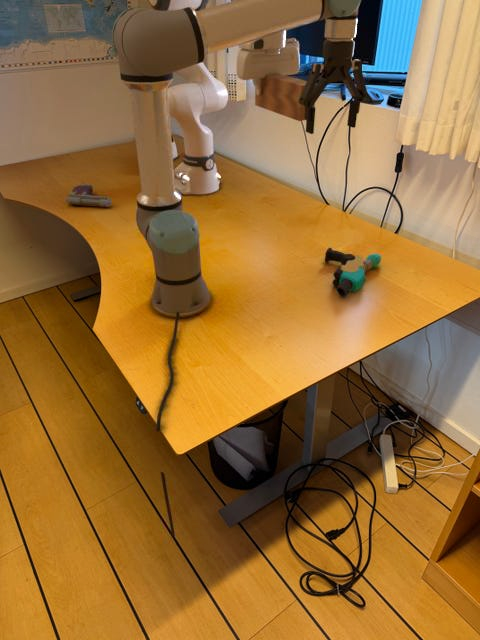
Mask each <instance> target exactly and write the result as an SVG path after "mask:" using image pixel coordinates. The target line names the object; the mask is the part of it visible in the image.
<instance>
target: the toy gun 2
mask: <svg viewBox="0 0 480 640" xmlns="http://www.w3.org/2000/svg"><path fill="white" fill-rule="evenodd" d="M330 261H332V262H337V263H340V267H339V268H337V269H336V270H335V272H334V273H333V277H334V279H333V280H332V285H333V286H334V287H336V292H337V294H338V295H339V297H341V298H344V299H345V298H346V297H347V295H348V294H350V293H351V291H353V292H357V291H359V290H360V289H361V288H362V287H363V286H364V284H365V282H366V274H365V273H366V272H367V271H369V270H370V269H372V268H377V266H379V265H380V263H381V261H382V255H381V254H379V253H370V254H368V256H366V259H364V257H363V256H361V255H359V254H353V253H352V254H351V253H344V252H342V251H338V250H335V249H333V248H332V247H328V248H327V249H326V251H325V255H324V262H325V263H329V262H330Z"/></svg>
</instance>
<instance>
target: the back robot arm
mask: <svg viewBox="0 0 480 640" xmlns="http://www.w3.org/2000/svg"><path fill="white" fill-rule="evenodd" d="M147 1H148V3H149V5H150V6H151V8H152V10H159V11H173V10H179V9H183V8H187V7H191V8H193V9H194V10H195V11H200V10H203V9H206V6H207V5H208V3H209V1H210V0H147ZM231 1H235V0H230V2H231ZM286 37H287V30H286V31H282V32H279V33H276V34H273V35H270V36H266V37H263V38H260V39H257V40H253V41H250V42H247V43H244V44H240V45H238V48H239V51H238V52H237V56H236V76H237V77H238V79H239V80H241V81H249V80H252V84H253V85H254V89H255V88H256V95H263V88H261V87H260V85H259V82H260V80H261V78H265V76H267V75H275V74H281V75H285V76H290V75H291V76H292V75H297V74H298V73H299V71H300V68H301V66H300V61H301V60H300V43H299V40H298V39H296V38H295V37H292V38H286ZM174 73H175V74H177V75H178V76H180V77H182V78H184V79H185V80H186V83H179V84H176V85H173V86H170V87H168V88H167V90H168V102H169V115H170V118H172V119H173V120H174V121H175V122H176V123H177V125H178V126H179V128H180V130H181V133H182V137H183V145H184V146H183V147H184V152H183V153H181V157H182V162H181V163H180V164H178V165H177V166H176V167H174V179H175V189H176V190H177V191H178V192H180V193H181V195H185V196H187V195H207V194H212V193H215V192H217V191H218V190H219V189H220V184H221V182H220V179H221V175H220V174H219V173H218V170H217V163H216V152H215V150H214V134H213V131H212V130H211V128H209V127H208V126H206V125H205V124H202V123H201V119H200V116H203V115H206V114H207V115H208V114H213V113H216V112H218V111H221V110H223V109H224V108H226V106H227V104H228V100H229V92H228V89H227V87H226V85H225V84H224V83H223V82H222V81H220V80H219V79H217V78H216V77H215V76H213V74H212V73H211V72H210V71H209V70H208V68H207V67H206V65H205V64H204V62H202V63H198V64H195V65H192V66H190V67H187V68H184V69H181V70H178V71H175V72H174Z"/></svg>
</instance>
